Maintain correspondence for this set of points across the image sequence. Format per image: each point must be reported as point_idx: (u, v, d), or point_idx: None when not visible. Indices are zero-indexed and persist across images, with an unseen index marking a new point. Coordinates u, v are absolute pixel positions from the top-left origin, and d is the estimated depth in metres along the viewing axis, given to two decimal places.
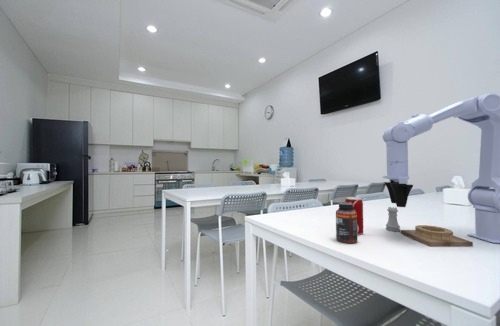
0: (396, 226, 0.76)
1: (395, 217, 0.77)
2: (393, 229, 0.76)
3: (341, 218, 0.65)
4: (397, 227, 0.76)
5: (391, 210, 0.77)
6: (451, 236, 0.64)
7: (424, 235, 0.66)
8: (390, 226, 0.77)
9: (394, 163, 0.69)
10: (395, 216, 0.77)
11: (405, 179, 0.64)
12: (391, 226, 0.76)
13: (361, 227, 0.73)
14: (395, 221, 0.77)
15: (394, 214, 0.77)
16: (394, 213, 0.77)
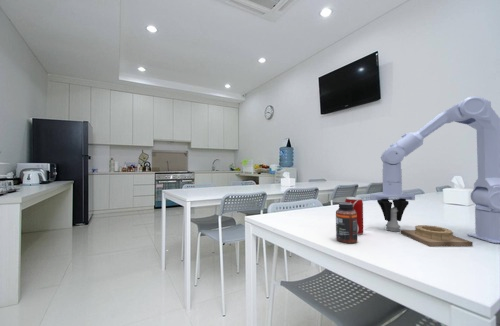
0: (396, 226, 0.76)
1: (395, 217, 0.77)
2: (393, 229, 0.76)
3: (341, 218, 0.65)
4: (397, 227, 0.76)
5: (391, 210, 0.77)
6: (451, 236, 0.64)
7: (424, 235, 0.66)
8: (390, 226, 0.77)
9: None
10: (395, 216, 0.77)
11: (372, 196, 0.78)
12: (391, 226, 0.76)
13: (361, 227, 0.73)
14: (395, 221, 0.77)
15: (394, 214, 0.77)
16: (394, 213, 0.77)
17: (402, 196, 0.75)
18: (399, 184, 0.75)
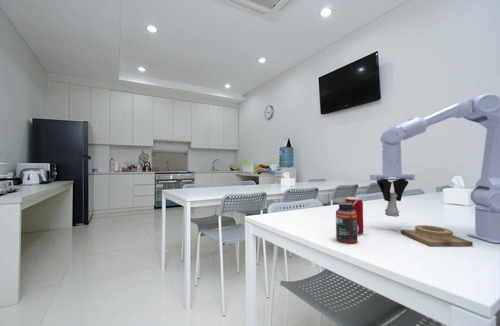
0: (395, 211, 0.76)
1: (394, 202, 0.77)
2: (392, 214, 0.76)
3: (341, 218, 0.65)
4: (396, 212, 0.76)
5: (391, 195, 0.77)
6: (451, 236, 0.64)
7: (424, 235, 0.66)
8: (389, 211, 0.77)
9: (382, 163, 0.80)
10: (395, 201, 0.77)
11: (372, 176, 0.78)
12: (390, 211, 0.77)
13: (361, 227, 0.73)
14: (394, 206, 0.77)
15: (394, 199, 0.77)
16: (394, 198, 0.77)
17: (402, 176, 0.76)
18: (399, 164, 0.76)
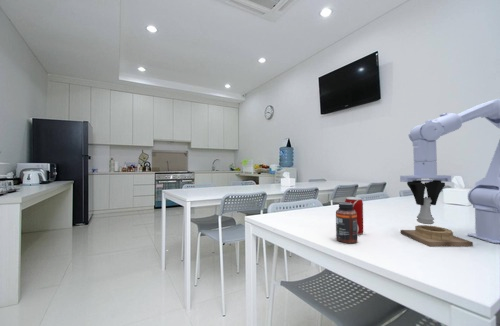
0: (430, 218, 0.68)
1: (428, 208, 0.69)
2: (426, 221, 0.68)
3: (341, 218, 0.65)
4: (431, 219, 0.68)
5: (424, 200, 0.69)
6: (451, 236, 0.64)
7: (424, 235, 0.66)
8: (423, 218, 0.69)
9: (414, 162, 0.71)
10: (429, 207, 0.69)
11: (403, 177, 0.69)
12: (424, 218, 0.68)
13: (361, 227, 0.73)
14: (428, 212, 0.68)
15: (428, 205, 0.69)
16: (428, 204, 0.69)
17: (437, 177, 0.67)
18: (434, 163, 0.67)
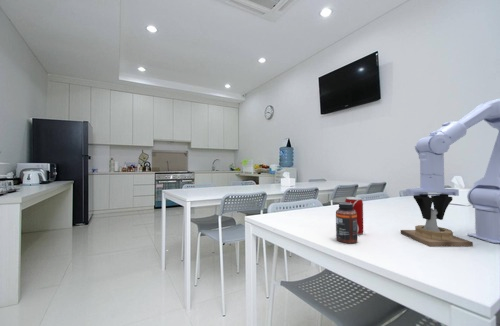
0: (436, 230, 0.66)
1: (435, 220, 0.67)
2: None
3: (341, 218, 0.65)
4: None
5: None
6: (451, 236, 0.64)
7: (424, 235, 0.66)
8: None
9: (420, 175, 0.69)
10: (435, 219, 0.67)
11: (409, 191, 0.68)
12: (430, 230, 0.67)
13: (361, 227, 0.73)
14: (435, 224, 0.67)
15: (434, 216, 0.67)
16: (434, 215, 0.67)
17: (445, 191, 0.65)
18: (442, 177, 0.65)
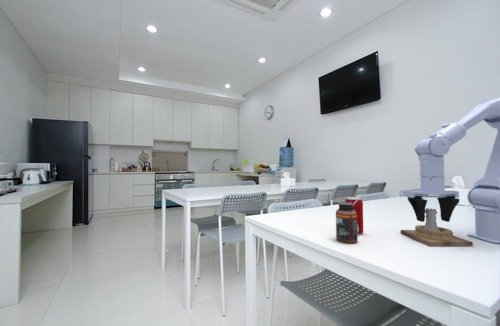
0: (436, 230, 0.66)
1: (434, 220, 0.67)
2: None
3: (341, 218, 0.65)
4: None
5: (430, 212, 0.67)
6: (451, 236, 0.64)
7: (424, 235, 0.66)
8: None
9: (420, 177, 0.69)
10: (434, 219, 0.67)
11: (410, 193, 0.68)
12: (430, 230, 0.67)
13: (361, 227, 0.73)
14: (434, 224, 0.67)
15: (433, 216, 0.67)
16: (433, 215, 0.67)
17: (445, 193, 0.65)
18: (442, 179, 0.65)
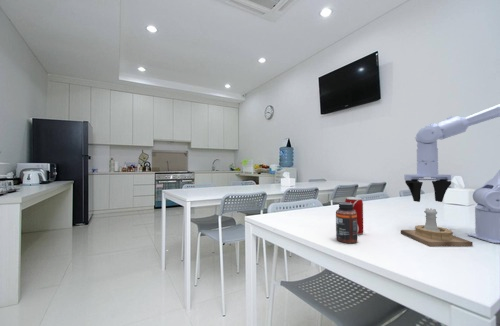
0: (436, 230, 0.66)
1: (434, 220, 0.67)
2: None
3: (341, 218, 0.65)
4: None
5: (430, 212, 0.67)
6: (451, 236, 0.64)
7: (424, 235, 0.66)
8: None
9: (417, 163, 0.77)
10: (434, 219, 0.67)
11: (407, 176, 0.76)
12: (430, 230, 0.67)
13: (361, 227, 0.73)
14: (434, 224, 0.67)
15: (433, 216, 0.67)
16: (433, 215, 0.67)
17: (439, 176, 0.74)
18: (436, 163, 0.74)
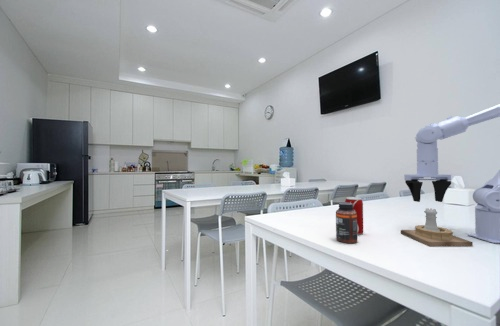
0: (436, 230, 0.66)
1: (434, 220, 0.67)
2: None
3: (341, 218, 0.65)
4: None
5: (430, 212, 0.67)
6: (451, 236, 0.64)
7: (424, 235, 0.66)
8: None
9: (417, 163, 0.78)
10: (434, 219, 0.67)
11: (407, 176, 0.76)
12: (430, 230, 0.67)
13: (361, 227, 0.73)
14: (434, 224, 0.67)
15: (433, 216, 0.67)
16: (433, 215, 0.67)
17: (439, 176, 0.74)
18: (436, 163, 0.74)
